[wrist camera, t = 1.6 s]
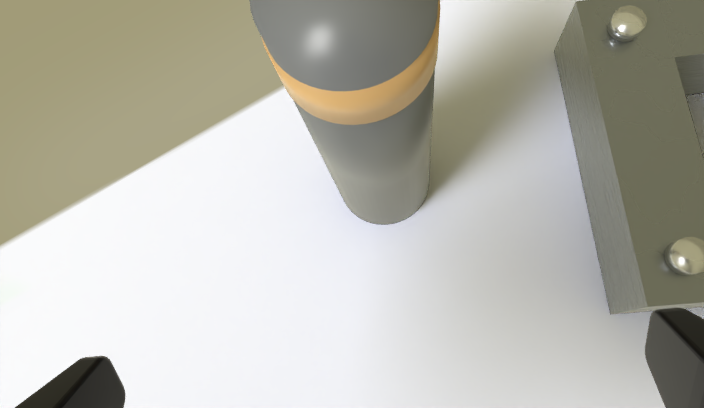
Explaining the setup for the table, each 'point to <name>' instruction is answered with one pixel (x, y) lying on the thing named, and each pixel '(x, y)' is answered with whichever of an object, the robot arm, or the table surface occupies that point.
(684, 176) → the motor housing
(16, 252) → the table surface
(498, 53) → the table surface
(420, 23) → the plug
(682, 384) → the robot arm
